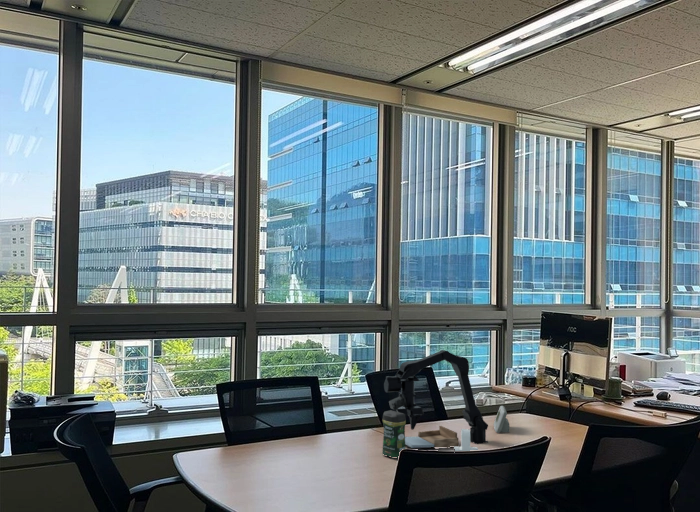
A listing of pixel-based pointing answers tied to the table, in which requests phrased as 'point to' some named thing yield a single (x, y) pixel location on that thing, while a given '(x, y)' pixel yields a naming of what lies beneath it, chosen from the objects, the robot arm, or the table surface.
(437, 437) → the tray
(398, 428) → the coffee jar
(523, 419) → the table surface
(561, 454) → the table surface
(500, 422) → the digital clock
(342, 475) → the table surface
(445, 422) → the table surface
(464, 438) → the cable organizer
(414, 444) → the panel
